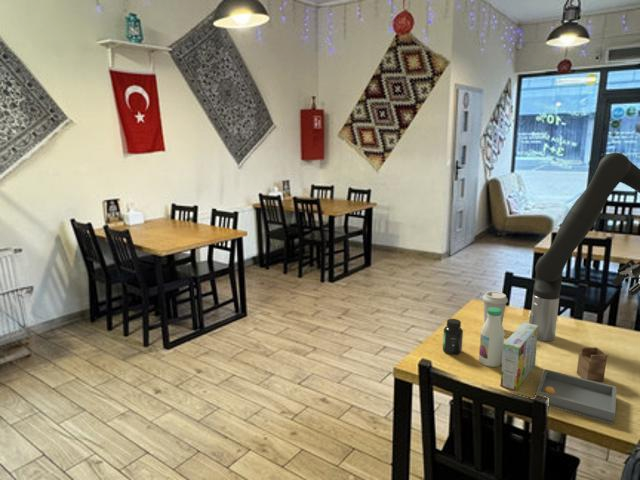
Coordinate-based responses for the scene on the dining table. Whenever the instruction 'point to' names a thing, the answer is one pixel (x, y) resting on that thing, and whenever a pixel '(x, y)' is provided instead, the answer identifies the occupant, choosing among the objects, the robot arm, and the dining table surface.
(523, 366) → the snack box
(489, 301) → the coffee cup
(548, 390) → the ball
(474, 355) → the dining table surface
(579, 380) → the tray
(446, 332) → the supplement bottle
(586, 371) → the wooden box
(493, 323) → the milk bottle
